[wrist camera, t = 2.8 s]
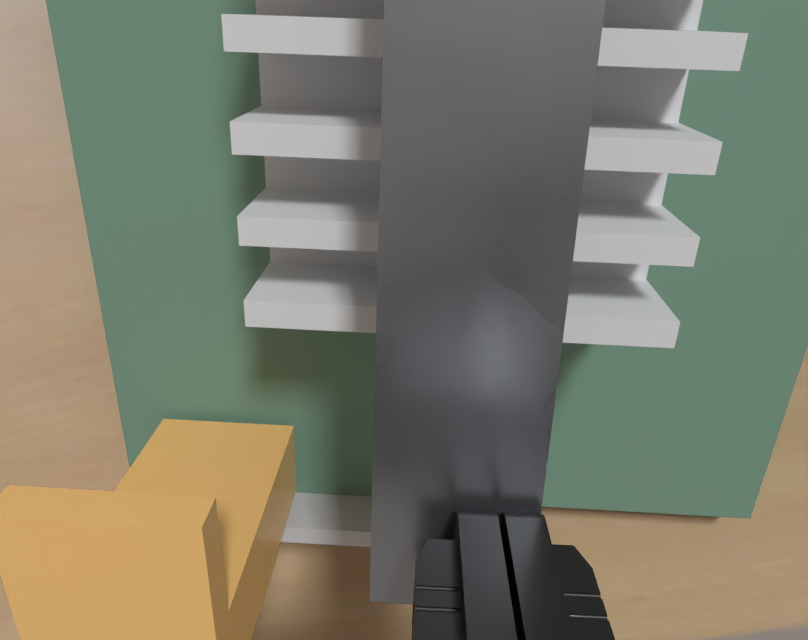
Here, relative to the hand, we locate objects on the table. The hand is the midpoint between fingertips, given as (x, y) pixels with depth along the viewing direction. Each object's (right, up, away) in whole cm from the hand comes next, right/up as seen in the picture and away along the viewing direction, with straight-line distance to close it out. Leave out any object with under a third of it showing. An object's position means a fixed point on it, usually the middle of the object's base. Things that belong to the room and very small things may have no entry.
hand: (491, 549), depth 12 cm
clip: (-7, +1, +8) cm, 10 cm away
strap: (0, +7, -2) cm, 7 cm away
